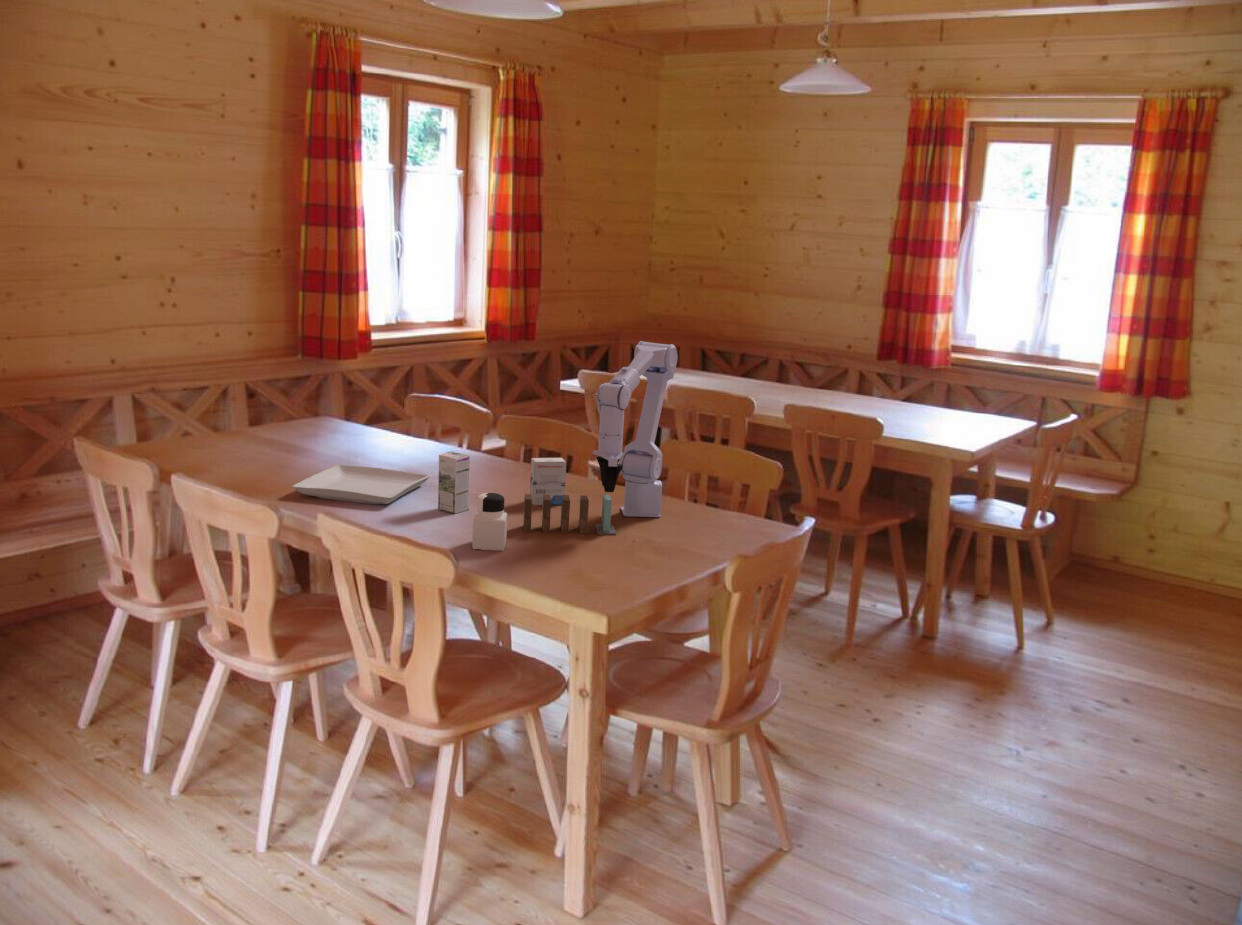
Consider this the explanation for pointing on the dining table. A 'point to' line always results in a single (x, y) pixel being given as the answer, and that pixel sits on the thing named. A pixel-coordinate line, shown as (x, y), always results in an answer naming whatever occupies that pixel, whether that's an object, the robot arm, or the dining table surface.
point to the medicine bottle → (490, 523)
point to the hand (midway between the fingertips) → (607, 488)
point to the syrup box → (453, 482)
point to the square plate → (360, 484)
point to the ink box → (547, 479)
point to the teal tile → (606, 513)
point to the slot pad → (600, 531)
